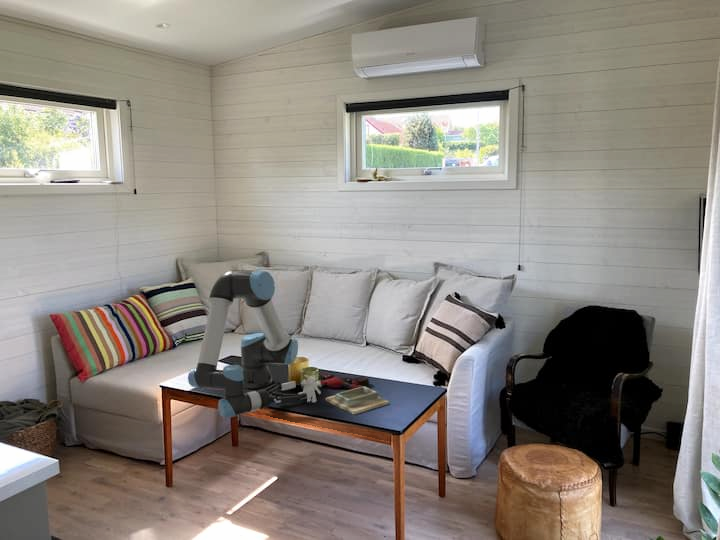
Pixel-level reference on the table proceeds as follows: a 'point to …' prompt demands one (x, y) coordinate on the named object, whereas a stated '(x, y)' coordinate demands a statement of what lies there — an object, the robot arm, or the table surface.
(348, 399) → the jig board
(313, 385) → the hat wearing toy figure
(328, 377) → the toy motorcycle
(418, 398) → the table surface
